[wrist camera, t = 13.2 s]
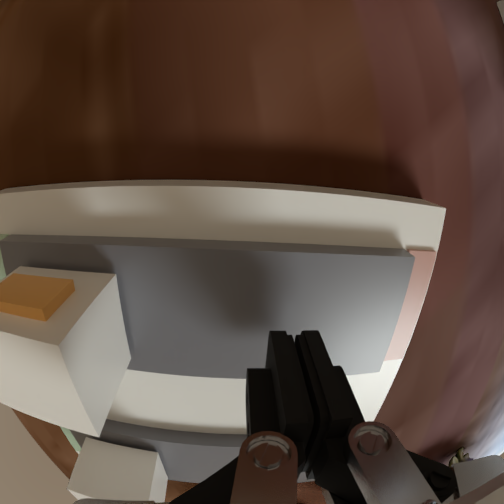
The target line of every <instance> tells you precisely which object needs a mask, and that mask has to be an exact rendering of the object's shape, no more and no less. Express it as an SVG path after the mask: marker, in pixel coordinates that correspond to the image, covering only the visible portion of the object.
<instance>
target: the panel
mask: <svg viewBox="0 0 504 504" xmlns="http://www.w3.org/2000/svg"><path fill="white" fill-rule="evenodd" d="M445 212H446V208H444V207H442V206H439V205H437V204H434V203H432V202H429V201H426V200H424V199H418V198H411V197H405V196H398V195H390V194H383V193H375V192H367V191H358V190H349V189H340V188H330V187H319V186H307V185H295V184H281V183H265V182H245V181H220V180H116V181H91V182H73V183H58V184H46V185H34V186H24V187H14V188H6V189H3V190H0V280H2V279H3V278H4V277H6V276H7V275H9V274H10V273H11V272H13V271H14V270H15V269H17V268H18V267H20V266H24V267H35V268H46V269H57V270H69V271H82V272H95V273H109V274H116V277H117V284H118V291H119V298H120V304H121V310H122V315H123V321H124V326H125V332H126V337H127V341H128V346H129V351H130V355H131V360H130V362H129V365H128V367H127V369H126V372H125V374H124V376H123V379H122V381H121V384H120V386H119V388H118V391H117V393H116V396H115V398H114V401H113V403H112V406H111V408H110V411H109V413H108V416H107V418H106V421H105V423H104V426H103V429H102V431H101V434H100V437H95V436H91V435H88V434H84V433H81V432H77V431H74V430H70V429H67V428H64V427H61V426H60V427H61V429H62V431H63V432H64V434H65V435H66V437H67V438H68V440H69V442H70V443H71V445H72V446H73V447H74V449H75V450H76V451H77V453H78V454H79V453H80V451H81V448H82V446H83V443H84V441H85V438H86V437H88V438H91V439H95V440H99V441H103V442H107V443H111V444H116V445H120V446H125V447H130V448H135V449H141V450H147V451H153V452H158V454H159V456H160V459H161V462H162V464H163V467H164V469H165V472H166V474H167V477H168V480H175V481H183V482H193V483H201V482H202V481H204V480H205V479H207V478H208V477H210V476H211V475H213V474H214V473H215V472H217V471H218V470H220V469H221V468H222V467H224V466H225V465H227V464H228V463H229V462H231V461H232V460H233V459H235V458H236V457H237V456H239V451H240V448H241V445H242V443H243V442H244V440H245V439H246V438H247V427H246V373H247V368H265V365H266V355H267V346H268V336H269V331H286V332H287V335H292V336H293V339H294V342H295V336H296V335H301V332H302V331H303V330H318V331H319V332H320V335H321V337H322V340H323V342H324V344H325V347H326V349H327V352H328V354H329V357H330V359H331V362H332V364H333V366H339V365H340V366H341V367H342V368H343V370H344V372H345V375H346V377H347V379H348V382H349V384H350V386H351V389H352V391H353V393H354V396H355V398H356V400H357V403H358V405H359V408H360V410H361V412H362V415H363V417H364V420H365V422H367V421H374V419H375V417H376V415H377V413H378V411H379V409H380V408H381V406H382V404H383V402H384V399H385V397H386V395H387V393H388V391H389V389H390V387H391V385H392V383H393V380H394V378H395V376H396V374H397V371H398V369H399V367H400V364H401V362H402V360H403V357H404V355H405V352H406V350H407V347H408V345H409V342H410V339H411V337H412V334H413V331H414V329H415V326H416V323H417V320H418V317H419V314H420V311H421V308H422V305H423V302H424V299H425V295H426V292H427V289H428V285H429V282H430V278H431V275H432V271H433V267H434V263H435V259H436V255H437V251H438V247H439V242H440V238H441V233H442V228H443V223H444V218H445ZM309 481H315V479H309V480H307V478H306V473H305V472H301V473H300V475H299V478H298V480H297V483H299V482H309Z"/></svg>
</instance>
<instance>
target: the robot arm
mask: <svg viewBox="0 0 504 504" xmlns="http://www.w3.org/2000/svg"><path fill="white" fill-rule="evenodd" d="M246 427H247V438H246V439H245V440H244V442H243V443H242V445H241V448H240V451H239V456H237V457H236V458H235V459H233V460H232V461H231V462H229V463H228V464H227V465H225V466H224V467H222V468H221V469H220V470H218V471H217V472H215V473H214V474H213V475H211V476H210V477H208V478H207V479H205V480H204V481H202V482H201V483H199V484H198V485H196V486H195V487H193V488H192V489H190V490H188V491H187V492H185V493H184V494H182V495H180V496H179V497H177V498H175V499H174V500H172V501H171V502H160V503H155V502H154V501H125V500H105V499H93V498H84V499H80V500H78V501H76V502H74V504H297V480H298V478H299V475H300V473H301V472H305V473H306V478H307V480H309V479H315V484H317V485H319V486H320V487H322V493H323V496H324V498H325V500H326V503H327V504H504V459H503V458H502V457H500V456H497V455H491V456H487V457H483V458H479V459H475V460H470V461H466V462H461V463H456V464H452V465H451V467H448V466H446V465H444V464H441V463H438V462H436V461H433V460H430V459H428V458H425V457H423V456H420V455H418V454H415V453H413V452H410V451H408V450H406V449H405V448H404V447H403V445H402V444H401V442H400V441H399V439H398V438H397V436H396V435H395V433H394V432H393V431H392V430H391V429H390V428H389V427H388V426H386V425H385V424H382V423H379V422H374V421H367V422H365V420H364V417H363V415H362V412H361V410H360V408H359V405H358V403H357V400H356V398H355V396H354V393H353V391H352V389H351V386H350V384H349V382H348V379H347V377H346V375H345V372H344V370H343V368H342V367H341V366H340V365H339V366H333V364H332V362H331V359H330V357H329V354H328V352H327V349H326V347H325V344H324V342H323V340H322V337H321V335H320V332H319V331H318V330H303V331H302V332H301V335H296V336H295V342H294V339H293V336H292V335H287V332H286V331H269V336H268V346H267V355H266V365H265V368H247V373H246Z"/></svg>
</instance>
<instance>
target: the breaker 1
mask: <svg viewBox="0 0 504 504" xmlns="http://www.w3.org/2000/svg"><path fill="white" fill-rule="evenodd" d="M130 360H131V355H130V351H129V346H128V341H127V337H126V332H125V326H124V321H123V315H122V310H121V304H120V298H119V291H118V284H117V277H116V274H109V273H95V272H82V271H69V270H57V269H46V268H35V267H24V266H20V267H18V268H17V269H15V270H14V271H13V272H11V273H10V274H9V275H7V276H6V277H4V278H3V279H2V280H0V403H3V404H5V405H7V406H9V407H11V408H14V409H16V410H18V411H21V412H23V413H25V414H28V415H30V416H33V417H36V418H38V419H41V420H44V421H46V422H49V423H52V424H55V425H58V426H61V427H64V428H67V429H70V430H74V431H77V432H81V433H84V434H88V435H91V436H95V437H100V434H101V431H102V429H103V426H104V423H105V421H106V418H107V416H108V413H109V411H110V408H111V406H112V403H113V401H114V398H115V396H116V393H117V391H118V388H119V386H120V384H121V381H122V379H123V376H124V374H125V372H126V369H127V367H128V365H129V362H130Z"/></svg>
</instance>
